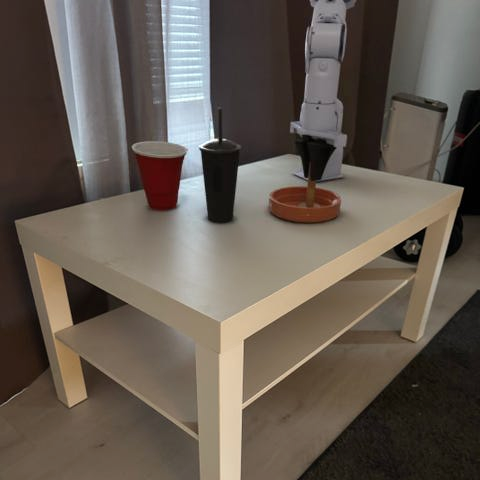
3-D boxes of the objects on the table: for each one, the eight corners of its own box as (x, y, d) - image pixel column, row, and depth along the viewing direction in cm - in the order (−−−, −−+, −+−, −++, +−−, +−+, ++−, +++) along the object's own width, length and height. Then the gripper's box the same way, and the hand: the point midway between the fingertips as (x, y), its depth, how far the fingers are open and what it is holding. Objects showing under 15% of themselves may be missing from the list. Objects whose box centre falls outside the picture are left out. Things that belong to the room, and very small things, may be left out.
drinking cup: (247, 221, 93) (251, 109, 83) (214, 228, 89) (213, 113, 79) (225, 209, 99) (226, 103, 88) (193, 216, 95) (189, 106, 84)
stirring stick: (311, 206, 99) (315, 158, 94) (324, 212, 96) (330, 163, 91) (293, 209, 97) (297, 161, 92) (306, 216, 94) (311, 166, 89)
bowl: (311, 197, 107) (312, 183, 105) (353, 217, 96) (355, 201, 94) (255, 206, 100) (256, 191, 99) (294, 229, 90) (296, 212, 88)
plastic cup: (181, 217, 94) (178, 154, 88) (129, 212, 96) (122, 150, 90) (196, 200, 104) (194, 141, 97) (148, 196, 105) (143, 138, 99)
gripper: (278, 97, 89) (274, 171, 97) (327, 109, 79) (318, 191, 86) (309, 96, 92) (303, 167, 100) (360, 106, 82) (349, 186, 89)
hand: (312, 178), depth 93 cm, fingers closed on stirring stick
